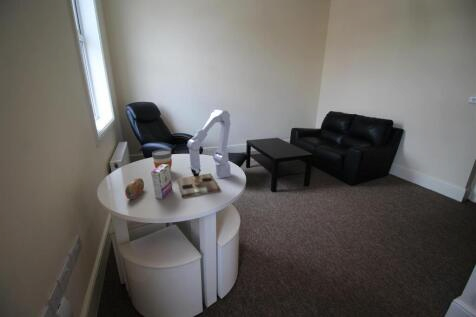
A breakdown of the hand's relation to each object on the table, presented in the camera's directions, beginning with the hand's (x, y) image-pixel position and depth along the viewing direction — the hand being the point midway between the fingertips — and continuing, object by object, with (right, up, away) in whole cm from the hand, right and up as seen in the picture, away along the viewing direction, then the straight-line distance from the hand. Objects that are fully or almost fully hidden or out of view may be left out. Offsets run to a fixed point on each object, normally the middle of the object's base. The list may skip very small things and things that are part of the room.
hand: (196, 179), depth 136 cm
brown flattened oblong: (-32, -8, -11) cm, 35 cm away
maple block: (+1, -2, -3) cm, 4 cm away
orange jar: (-26, +3, +18) cm, 32 cm away
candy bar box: (-17, -7, -11) cm, 21 cm away
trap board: (+1, -4, -2) cm, 4 cm away
